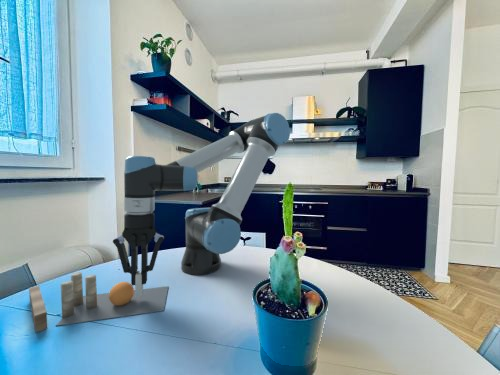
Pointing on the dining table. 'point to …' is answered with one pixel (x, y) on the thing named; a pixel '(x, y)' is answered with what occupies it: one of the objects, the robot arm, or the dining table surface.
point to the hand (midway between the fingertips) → (139, 295)
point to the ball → (121, 293)
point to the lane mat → (118, 307)
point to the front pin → (91, 291)
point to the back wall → (38, 309)
